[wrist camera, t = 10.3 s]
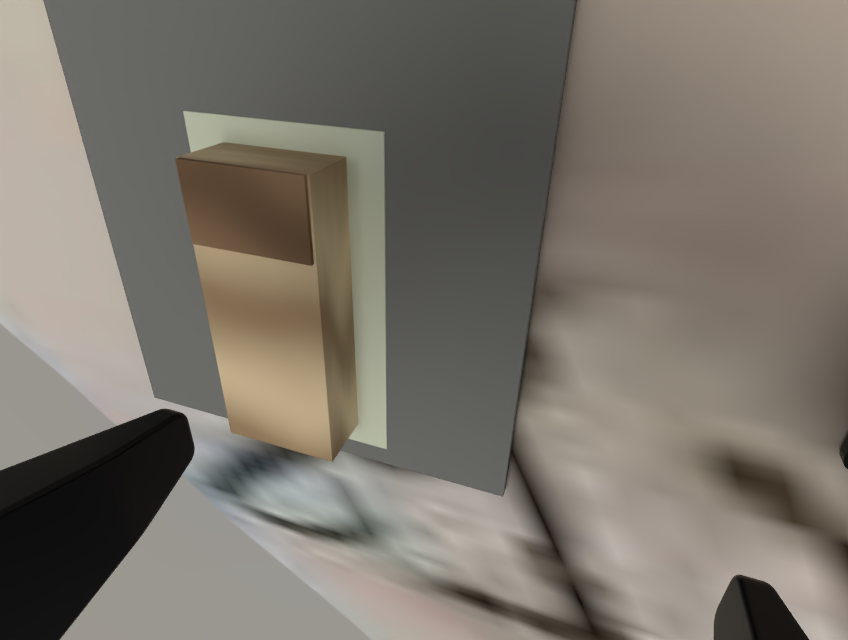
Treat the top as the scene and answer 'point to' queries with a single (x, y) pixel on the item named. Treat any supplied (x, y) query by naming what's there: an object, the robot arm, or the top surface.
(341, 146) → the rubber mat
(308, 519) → the top surface
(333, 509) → the top surface
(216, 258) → the two-tone wooden plank
